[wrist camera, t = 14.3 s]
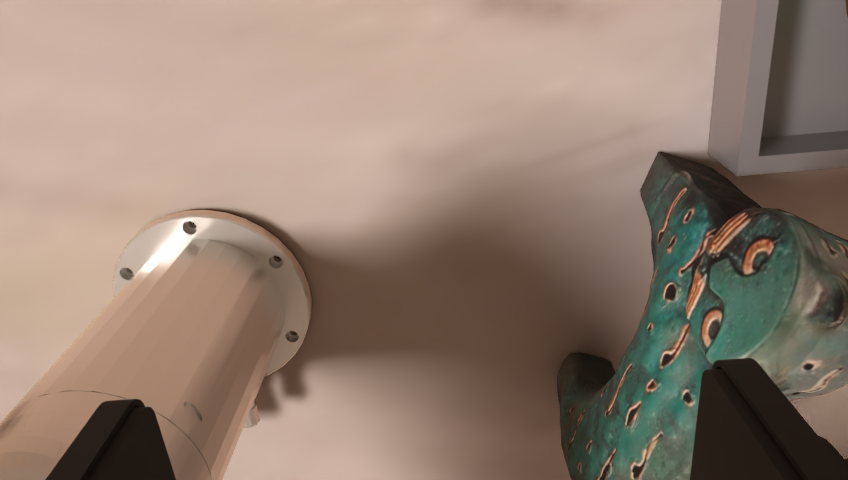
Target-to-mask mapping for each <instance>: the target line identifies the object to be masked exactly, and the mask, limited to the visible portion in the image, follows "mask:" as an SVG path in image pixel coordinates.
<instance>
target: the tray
mask: <svg viewBox="0 0 848 480" xmlns="http://www.w3.org/2000/svg"><path fill="white" fill-rule="evenodd" d="M708 154H709V155H710V156H711V157H713V158H714V159H715V160H717V161H718V162H719V163H720V164H722V165H723V166H724V167H725V168H727V169H728V170H729V171H731V172H732V173H733V174H734V175H736V176H747V175H760V174H772V173H784V172H796V171H808V170H820V169H832V168H844V167H848V17H847V12H846V2H845V0H722V7H721V17H720V28H719V39H718V49H717V60H716V70H715V81H714V92H713V102H712V113H711V123H710V134H709V145H708Z"/></svg>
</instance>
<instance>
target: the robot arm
mask: <svg viewBox="0 0 848 480" xmlns="http://www.w3.org/2000/svg"><path fill="white" fill-rule="evenodd" d="M192 222H193V223H194V224H195V225H193V224H192ZM276 256H278V257H280V258H281V259H278V258H277V257H276ZM113 296H114V299H113V300H112V301H111V302H110V303H109V304H108V305H107V306H106V307H105V308H104V310H103V311H102V312H101V313H100V314H99V315H98V316H97V317H96V318H95V319H94V321H93V322H92V323H91V324H90V325H89V326H88V327H87V328H86V329H85V330H84V332H83V333H82V334H81V335H80V336H79V337H78V338H77V339H76V340H75V341H74V343H73V344H72V345H71V346H70V347H69V348H68V349H67V350H66V351H65V352H64V354H63V355H62V356H61V357H60V358H59V359H58V360H57V361H56V362H55V363H54V365H53V366H52V367H51V368H50V369H49V370H48V371H47V372H46V373H45V374H44V376H43V377H42V378H41V379H40V380H39V381H38V382H37V383H36V384H35V385H34V387H33V388H32V389H31V390H30V391H29V392H28V393H27V394H26V395H25V396H24V398H23V399H22V400H21V401H20V402H19V403H18V404H17V405H16V406H15V407H14V409H13V410H12V411H11V412H10V413H9V414H8V415H7V416H6V417H5V418H4V420H3V421H2V422H1V423H0V480H222V479H223V476H224V474H225V471H226V469H227V466H228V464H229V461H230V459H231V456H232V454H233V451H234V449H235V446H236V444H237V441H238V439H239V436H240V434H241V431H242V429H243V428H249V427H253V426H254V425H256V424H257V423H258V422H259V421H260V416H259V412H258V408H257V405H256V402H255V401H254V400H255V399H256V396H257V394H258V391H259V389H260V386H261V384H262V381H263V379H264V377H265V376H268V375H270V374H272V373H273V372H275V371H276V370H278V369H280V368H281V367H283V366H284V365H285V364H286V363H287V362H288V361H289V360H290V359H291V358H292V357H293V356H294V355H295V354H296V352H297V351H298V349H299V348H300V346H301V345H302V343H303V340H304V338H305V335H306V333H307V330H308V326H309V322H310V318H311V305H312V299H311V294H310V289H309V284H308V281H307V279H306V277H305V274H304V272H303V270H302V267H301V266H300V264H299V263H298V261H297V260H296V258H295V257H294V255H293V254H292V253H291V251H290V250H289V249H288V248H287V247H286V246H285V245H284V244H283V243H282V242H281V241H280V240H279V239H278V238H276V237H275V236H274V235H272V234H271V233H270V232H268V231H267V230H265V229H264V228H263V227H261V226H259V225H257V224H255V223H253V222H251V221H249V220H247V219H245V218H242V217H239V216H235V215H232V214H229V213H226V212H219V211H211V210H187V211H183V212H178V213H174V214H169V215H167V216H165V217H162V218H160V219H158V220H156V221H154V222H152V223H151V224H149V225H148V226H147V227H145V228H144V229H143V230H141V231H140V232H139V233H138V234H137V235H136V236H135V237H134V238H133V239H132V240H131V241H130V242H129V243H128V244H127V246H126V247H125V249H124V250H123V252H122V254H121V255H120V257H119V259H118V262H117V264H116V267H115V270H114V277H113ZM294 331H295V332H294ZM690 480H848V463H847V462H846V461H845V460H844V459H843V457H842V456H841V455H840V454H839V453H838V451H837V450H836V449H835V448H834V447H833V446H832V445H831V444H830V443H829V442H828V441H827V440H826V439H824V438H822V437H820V436H817V434H816V433H815V432H814V431H813V429H812V428H811V427H810V426H809V425H808V423H807V422H806V421H805V420H804V418H803V417H802V416H801V415H800V414H799V412H798V411H797V410H796V409H795V407H794V406H793V405H792V404H791V403H790V401H789V400H788V399H787V398H786V396H785V395H784V394H783V393H782V392H781V390H780V389H779V388H778V387H777V385H776V384H775V383H774V382H773V381H772V379H771V378H770V377H769V376H768V374H767V373H766V372H765V371H764V370H763V368H762V367H761V366H760V365H759V363H758V362H757V361H755V360H754V359H752V358H741V359H726V360H717V361H715V362H714V364H713V365H712V369H708V370H704V372H703V374H702V379H701V387H700V396H699V405H698V413H697V422H696V430H695V439H694V448H693V456H692V465H691V473H690Z"/></svg>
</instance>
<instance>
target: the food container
mask: <svg viewBox="0 0 848 480" xmlns="http://www.w3.org/2000/svg"><path fill="white" fill-rule="evenodd" d="M845 2H846V12H847V17H848V0H845Z"/></svg>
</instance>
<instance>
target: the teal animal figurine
mask: <svg viewBox="0 0 848 480" xmlns="http://www.w3.org/2000/svg"><path fill="white" fill-rule="evenodd" d="M640 191H641V198H642V200H643V203H644V205H645V208H646V211H647V214H648V217H649V221H650V225H651V231H652V241H651V245H652V254H653V261H654V273H653V277H652V282H651V286H650V295H649V299H648V302H647V305H646V307H645V310H644V313H643V316H642V318H641V321H640V324H639V327H638V330H637V332H636V334H635V336H634V338H633V341H632V342H631V344H630V346H629V347H628V349H627V351H626V353H625V355H624V357H623V359H622V360H621V363H620V365H619V367H618V369H617V371H616V372H615V370H614V368H613V365H612V363H611V362H610V361H609V360H606V359H604V358H599V357H595V356H592V355H588V354H585V353H574V354H570V355H569V356H568V357H567V359H566V360H565V361H564V363H563V364H562V366H561V369H560V371H559V374H558V379H557V389H558V397H559V404H560V426H561V442H562V449H563V452H564V457H565V460H566V463H567V467H568V470H569V473H570V477H571V479H572V480H690V473H691V465H692V456H693V448H694V439H695V430H696V422H697V413H698V405H699V396H700V387H701V379H702V374H703V372H704V370H708V369H712V365H713V364H714V362H715V361H717V360H726V359H741V358H752V359H754V360H755V361H757V362H758V363H759V365H760V366H761V367H762V368H763V370H764V371H765V372H766V373H767V374H768V376H769V377H770V378H771V379H772V381H773V382H774V383H775V384H776V385H777V387H778V388H779V389H780V390H781V392H782V393H783V394H784V395H785V396H786V398H787V399H788V400H789V401H790V400H794V399H799V398H805V397H810V396H817V395H821V394H825V393H828V392H831V391H833V390H835V389H838V388H840V387H842V386H844V385H846V384H848V240H846V239H843V238H841V237H838V236H836V235H833V234H831V233H829V232H826V231H825V230H823V229H821V228H819V227H817V226H815V225H813V224H811V223H809V222H807V221H805V220H803V219H801V218H799V217H798V216H795V215H793V214H791V213H788V212H785V211H783V210H780V209H767V208H762V207H761V206H760V205H758V204H757V203H756V202H754V201H753V200H752V199H750V198H749V197H748V196H746V195H745V194H743V193H742V192H741V191H740V190H739V189H738V188H737V187H736V186H735V185H734V184H733V183H731V182H730V181H729V180H728V179H727V178H725V177H724V176H722V175H720V174H719V173H718V172H717V171H715V170H714V169H713V168H710V167H707V166H703V165H701V164H698V163H695V162H692V161H688V160H685V159H682V158H678V157H675V156H672V155H668V154H665V153H662V152H658V154H657V156H656V158H655V160H654V162H653V164H652V166H651V168H650V170H649V173H648V175H647V177H646V179H645V182H644V184H643V186H642V188H641V190H640Z"/></svg>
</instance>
